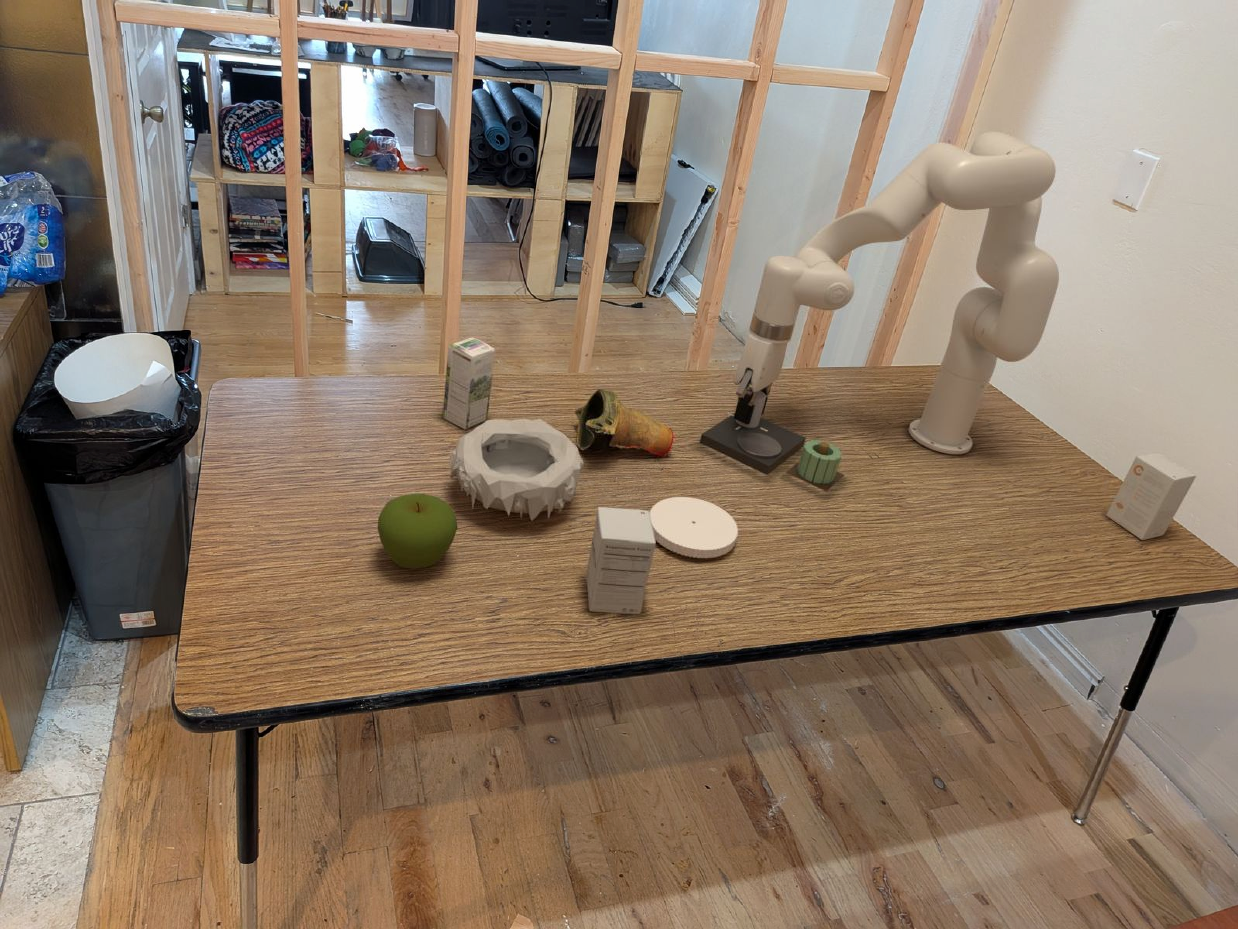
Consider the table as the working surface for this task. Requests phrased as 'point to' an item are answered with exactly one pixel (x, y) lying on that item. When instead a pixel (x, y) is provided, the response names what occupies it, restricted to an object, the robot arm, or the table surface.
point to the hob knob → (755, 410)
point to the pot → (619, 427)
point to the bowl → (517, 466)
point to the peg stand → (793, 471)
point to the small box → (1150, 495)
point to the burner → (759, 445)
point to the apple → (416, 529)
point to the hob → (729, 431)
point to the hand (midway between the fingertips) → (748, 416)
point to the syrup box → (468, 382)
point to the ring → (819, 463)
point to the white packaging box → (619, 560)
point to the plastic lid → (693, 527)
